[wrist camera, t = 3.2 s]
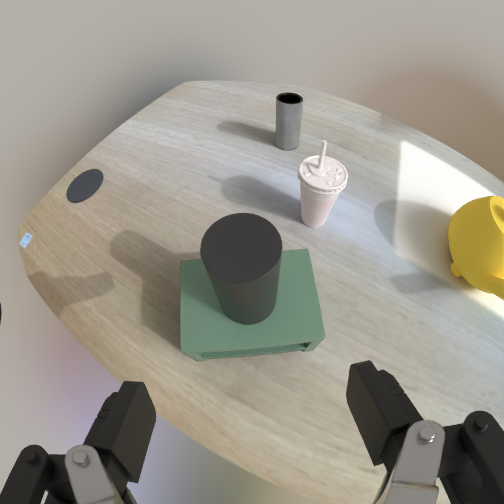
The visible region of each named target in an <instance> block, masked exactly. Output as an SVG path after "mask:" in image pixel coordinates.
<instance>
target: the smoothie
mask: <svg viewBox="0 0 504 504" xmlns="http://www.w3.org/2000/svg"><path fill="white" fill-rule="evenodd" d="M326 144H327V141H325V140H323V141H322V145H321V151H320V155H315V156H310V157H307V158H305V159H304V160H302V161H301V163H300V165H299V169H298V178H299V180H300V189H301V218H302V221H303V222H304V224H306V225H307V226H309V227H313V228H317V227H320V226H322V225H323V224H324V223H325V221H326V219H327V217H328V215H329V213H330V211H331V209H332V207H333V205H334V203H335V201H336V199H337V197H338V195H339V193H340V191H342V190H343V189H344V188H345V186H346V184H347V178H348V174H347V171H346V169H345V167H344V166H343V165H342V164H341V163H340V162H338V161H337V160H335V159H333V158H330V157H327V156H324V155H325V150H326Z"/></svg>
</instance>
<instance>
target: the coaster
mask: <svg viewBox="0 0 504 504" xmlns="http://www.w3.org/2000/svg"><path fill="white" fill-rule="evenodd" d="M102 181H103V174H102V172H101V171H100V170H98V169H91V170H87V171H85V172H83V173H82V174H80V175H79V176H77V177H76V178H75V179H74V180H73V181H72V183H71V184H70V186H69V188H68V190H67V198H68V200H69V201H71V202H73V203H77V202H81V201H84V200H86V199H87V198H89V197H90V196H92V195H93V194H94V193H95V192H96V191H97V190H98V188H99V187H100V185H101V183H102Z"/></svg>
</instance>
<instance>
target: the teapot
mask: <svg viewBox="0 0 504 504" xmlns="http://www.w3.org/2000/svg"><path fill="white" fill-rule="evenodd" d="M448 240H449V247H450V252H451V255H452V258H453V261H454V262H453V263H452V264H451V271H452V273H453V274H454V275H455V276H456V277H461V276H463V277H464V278H465V280H466V281H467V282H469V283H470V284H471V285H472V286H474V287H476V288H477V289H479V290H481V291H484V292H487V293H493V294H495V295H496V296H498V297H500V298H501V299H503V300H504V199H503V198H501V197H498V196H488V197H483V198H479V199H475V200H472V201H470V202H468V203H466V204H465V205H463V206H462V207H461V208H460V209H459V210H457V211H456V213H455V214H454V215H453V216H452V218H451V220H450V224H449V228H448Z"/></svg>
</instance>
